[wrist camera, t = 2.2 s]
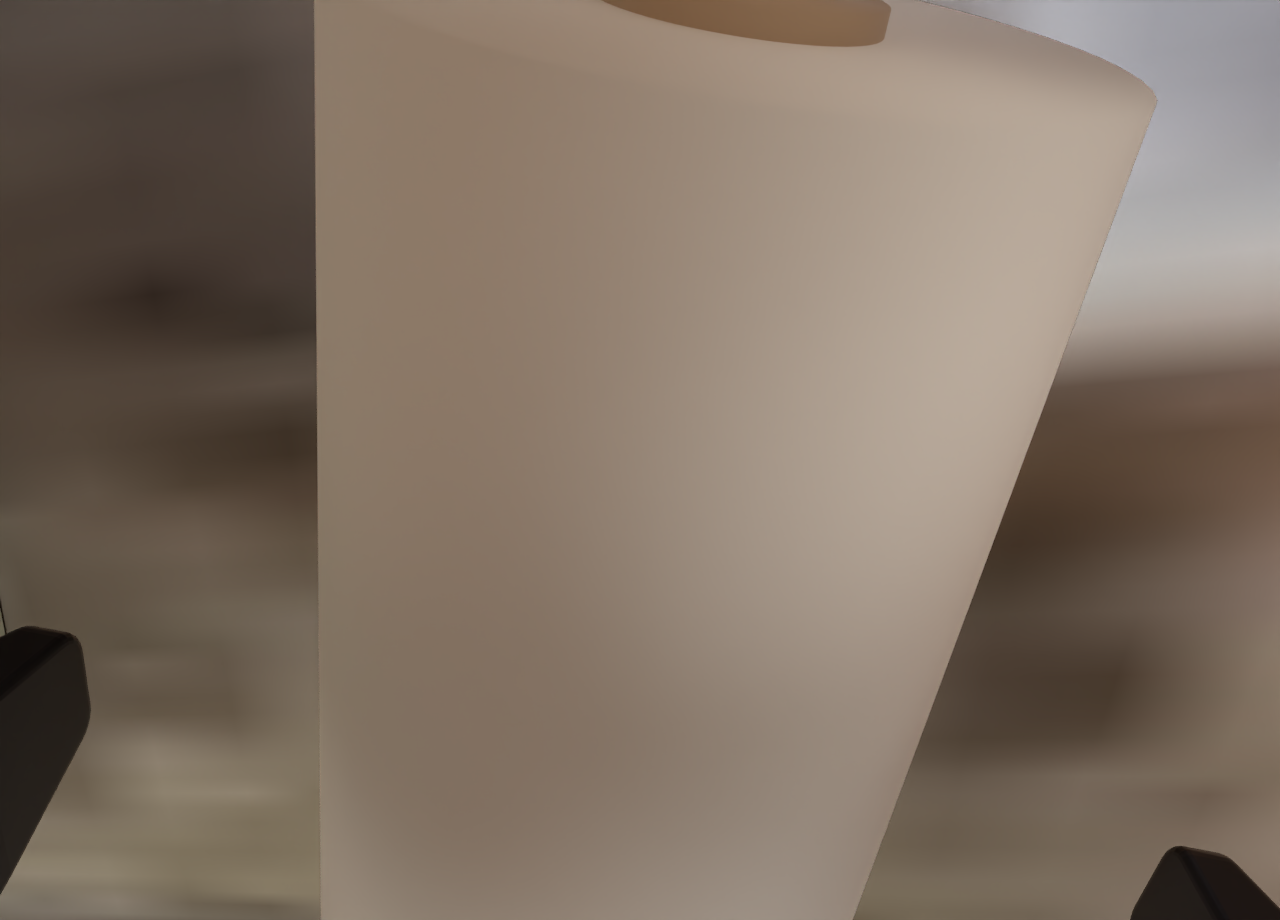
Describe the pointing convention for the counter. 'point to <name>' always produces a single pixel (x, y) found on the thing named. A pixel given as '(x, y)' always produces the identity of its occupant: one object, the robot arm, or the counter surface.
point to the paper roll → (670, 428)
